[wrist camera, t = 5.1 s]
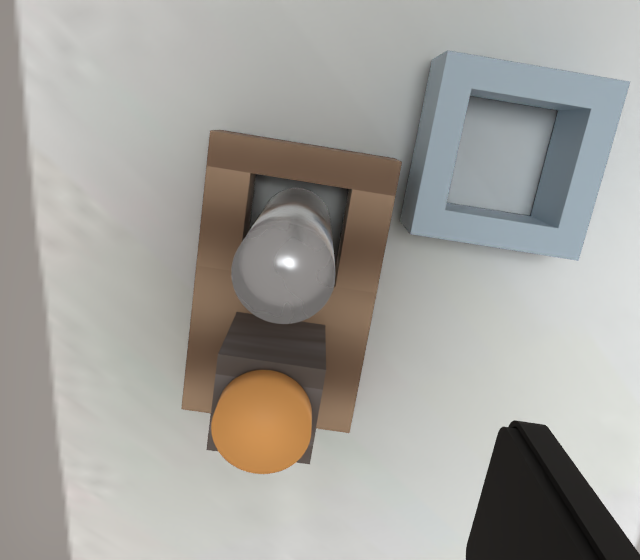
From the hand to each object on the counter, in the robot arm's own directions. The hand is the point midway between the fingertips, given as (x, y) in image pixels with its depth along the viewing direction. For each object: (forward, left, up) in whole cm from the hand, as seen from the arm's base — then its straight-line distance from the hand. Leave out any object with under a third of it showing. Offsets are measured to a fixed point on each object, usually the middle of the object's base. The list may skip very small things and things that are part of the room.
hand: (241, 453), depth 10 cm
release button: (+7, 0, -21) cm, 22 cm away
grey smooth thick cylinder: (0, 0, -24) cm, 24 cm away
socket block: (+3, 0, -24) cm, 24 cm away
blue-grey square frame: (-6, +10, -24) cm, 27 cm away
